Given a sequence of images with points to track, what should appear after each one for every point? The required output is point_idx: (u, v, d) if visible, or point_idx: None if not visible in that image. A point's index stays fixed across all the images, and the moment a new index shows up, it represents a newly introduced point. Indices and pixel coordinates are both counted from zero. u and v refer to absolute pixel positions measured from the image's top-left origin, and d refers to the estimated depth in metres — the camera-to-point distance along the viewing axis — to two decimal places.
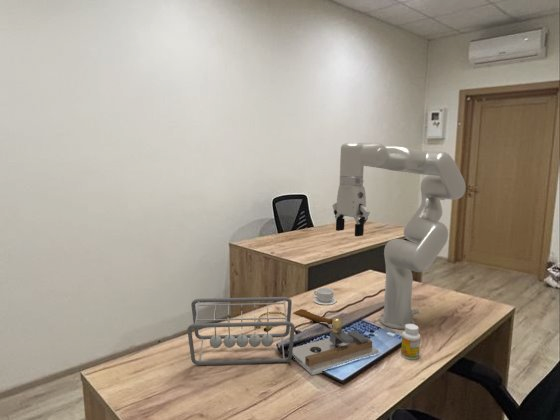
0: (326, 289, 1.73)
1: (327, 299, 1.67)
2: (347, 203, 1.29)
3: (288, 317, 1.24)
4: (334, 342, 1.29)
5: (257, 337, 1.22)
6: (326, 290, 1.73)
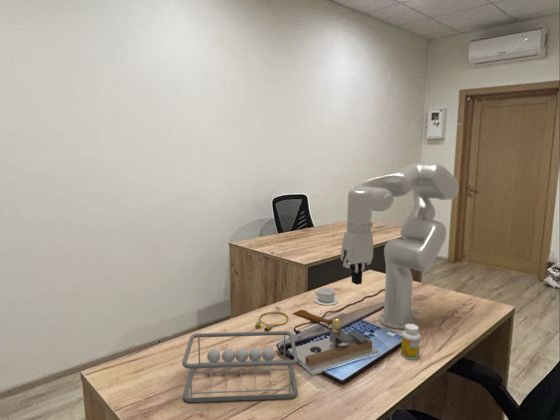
0: (327, 289, 1.73)
1: (328, 299, 1.67)
2: (366, 250, 1.27)
3: None
4: (334, 342, 1.29)
5: (258, 358, 1.14)
6: (327, 290, 1.73)
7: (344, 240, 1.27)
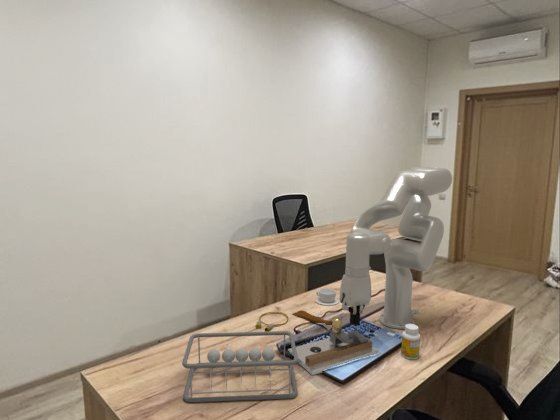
0: (328, 289, 1.73)
1: (329, 299, 1.67)
2: (364, 292, 1.30)
3: None
4: (334, 342, 1.29)
5: (258, 358, 1.14)
6: (328, 290, 1.73)
7: (342, 283, 1.29)
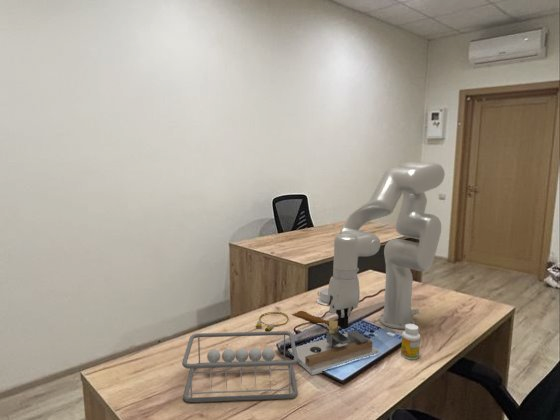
0: None
1: None
2: (352, 295, 1.27)
3: None
4: (331, 343, 1.28)
5: (258, 358, 1.14)
6: None
7: (330, 285, 1.27)
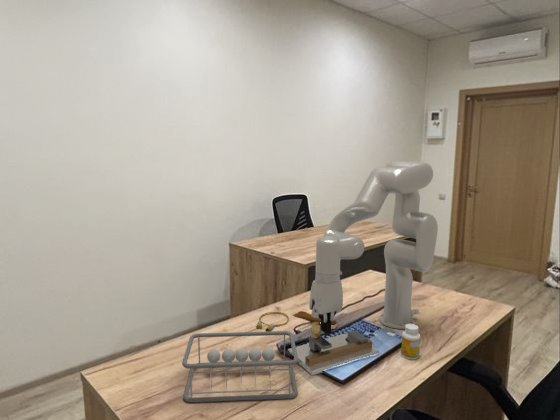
0: None
1: None
2: (335, 299, 1.24)
3: None
4: (313, 348, 1.25)
5: (258, 358, 1.14)
6: None
7: (312, 289, 1.24)
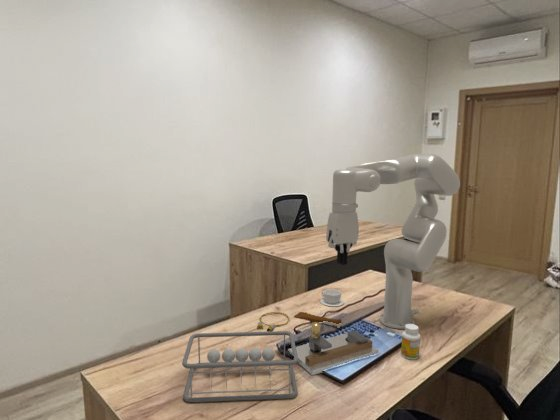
0: (334, 290, 1.72)
1: (334, 301, 1.66)
2: (351, 230, 1.28)
3: None
4: (313, 348, 1.25)
5: (258, 358, 1.14)
6: (334, 291, 1.71)
7: (329, 220, 1.27)
